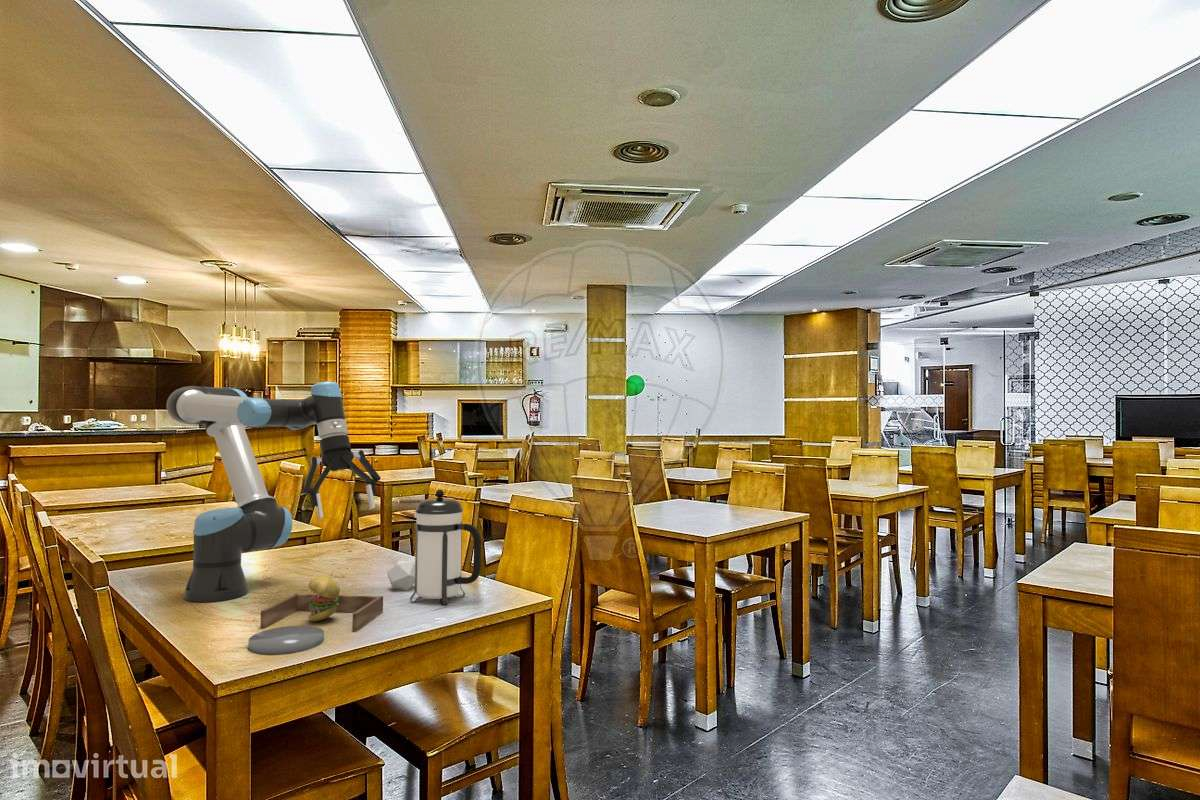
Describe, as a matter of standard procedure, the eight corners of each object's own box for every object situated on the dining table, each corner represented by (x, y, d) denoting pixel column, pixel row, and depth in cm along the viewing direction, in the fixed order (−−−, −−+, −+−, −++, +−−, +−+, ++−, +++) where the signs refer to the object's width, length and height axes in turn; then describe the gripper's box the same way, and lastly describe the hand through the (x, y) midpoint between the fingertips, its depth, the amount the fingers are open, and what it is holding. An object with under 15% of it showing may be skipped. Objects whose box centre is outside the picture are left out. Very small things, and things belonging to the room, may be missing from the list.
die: (425, 589, 200) (417, 559, 205) (415, 580, 193) (408, 550, 198) (398, 600, 199) (391, 570, 204) (387, 591, 192) (381, 560, 197)
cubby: (260, 628, 159) (260, 610, 159) (295, 609, 175) (295, 593, 175) (356, 631, 158) (356, 613, 158) (382, 612, 173) (383, 596, 174)
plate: (233, 653, 142) (233, 645, 142) (272, 631, 157) (272, 624, 157) (303, 655, 141) (303, 648, 141) (335, 633, 156) (335, 626, 156)
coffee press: (414, 610, 175) (416, 493, 176) (406, 595, 190) (408, 487, 191) (480, 603, 182) (482, 491, 183) (467, 590, 197) (469, 486, 198)
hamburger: (313, 616, 169) (314, 567, 170) (343, 615, 170) (344, 567, 170) (302, 625, 162) (303, 574, 162) (333, 624, 162) (335, 574, 163)
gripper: (287, 440, 178) (300, 520, 174) (382, 428, 192) (396, 502, 189) (283, 446, 184) (295, 524, 180) (375, 434, 198) (388, 506, 195)
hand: (347, 513), depth 184 cm, fingers open, 13 cm apart
